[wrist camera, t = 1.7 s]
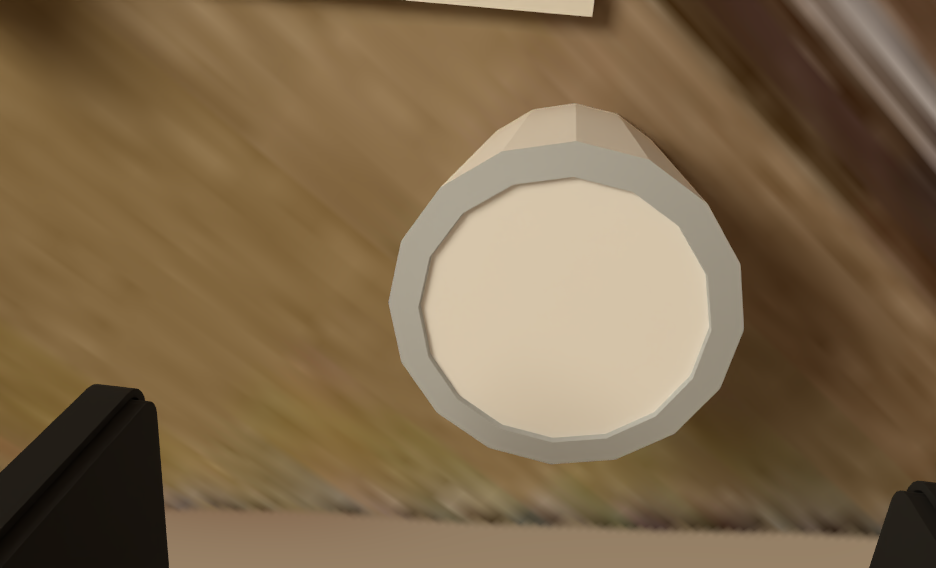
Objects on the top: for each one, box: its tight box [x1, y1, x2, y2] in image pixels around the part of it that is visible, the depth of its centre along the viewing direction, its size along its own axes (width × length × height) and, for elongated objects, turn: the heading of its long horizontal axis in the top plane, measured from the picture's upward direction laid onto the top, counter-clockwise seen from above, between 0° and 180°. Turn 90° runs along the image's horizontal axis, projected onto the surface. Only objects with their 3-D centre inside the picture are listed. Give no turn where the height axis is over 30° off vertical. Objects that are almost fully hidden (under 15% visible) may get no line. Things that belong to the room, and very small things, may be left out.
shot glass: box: [388, 103, 744, 464], centre depth 20 cm, size 7×7×7 cm
